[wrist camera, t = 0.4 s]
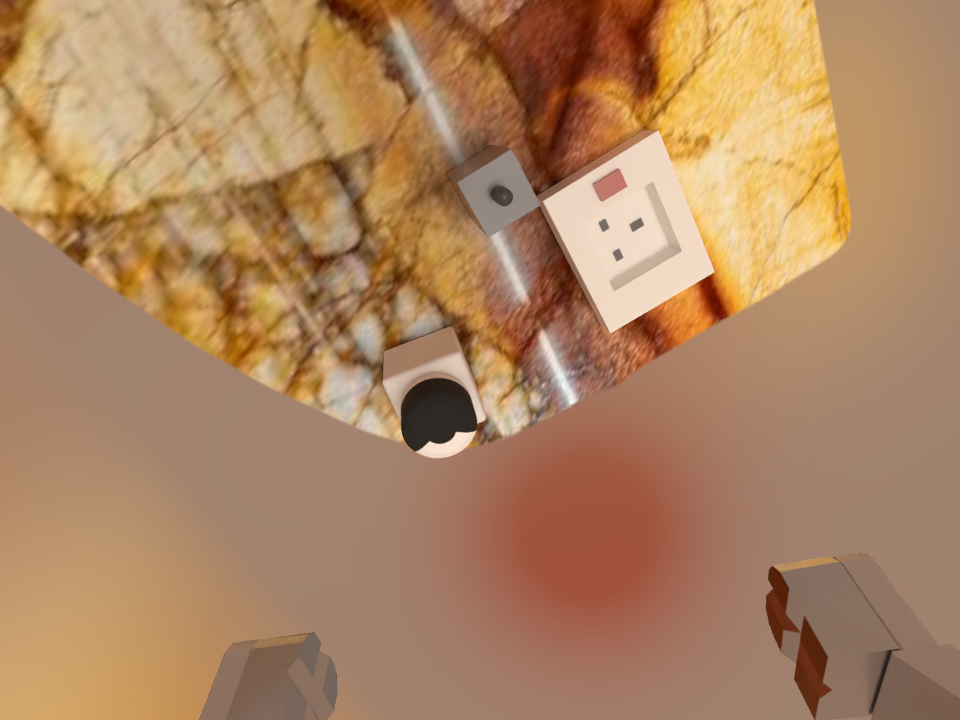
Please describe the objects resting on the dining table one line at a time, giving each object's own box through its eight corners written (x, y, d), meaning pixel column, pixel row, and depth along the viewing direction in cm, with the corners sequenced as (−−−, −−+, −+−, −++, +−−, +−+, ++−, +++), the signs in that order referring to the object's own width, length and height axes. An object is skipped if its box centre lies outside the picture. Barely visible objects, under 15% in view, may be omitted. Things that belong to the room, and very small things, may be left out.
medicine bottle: (381, 350, 53) (379, 408, 42) (452, 324, 53) (467, 375, 42) (409, 412, 56) (414, 481, 45) (476, 387, 56) (497, 450, 45)
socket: (534, 197, 50) (544, 202, 47) (643, 130, 49) (661, 130, 46) (599, 323, 56) (612, 335, 52) (698, 264, 55) (718, 273, 51)
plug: (445, 173, 48) (460, 185, 38) (490, 144, 48) (517, 149, 38) (472, 219, 50) (492, 242, 40) (515, 192, 50) (547, 208, 40)
